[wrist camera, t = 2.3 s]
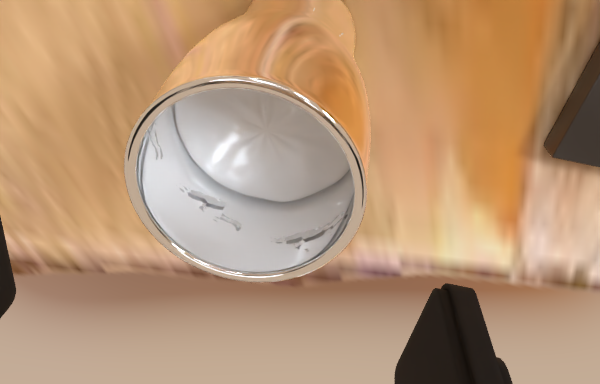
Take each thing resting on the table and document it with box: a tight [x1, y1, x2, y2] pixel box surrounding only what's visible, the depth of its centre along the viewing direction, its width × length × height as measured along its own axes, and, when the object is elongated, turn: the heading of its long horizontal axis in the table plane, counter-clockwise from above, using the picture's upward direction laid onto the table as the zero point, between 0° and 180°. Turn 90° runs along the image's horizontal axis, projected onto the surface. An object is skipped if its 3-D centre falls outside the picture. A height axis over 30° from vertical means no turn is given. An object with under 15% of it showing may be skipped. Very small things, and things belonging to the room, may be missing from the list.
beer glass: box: [124, 0, 371, 283], centre depth 19 cm, size 7×7×15 cm
